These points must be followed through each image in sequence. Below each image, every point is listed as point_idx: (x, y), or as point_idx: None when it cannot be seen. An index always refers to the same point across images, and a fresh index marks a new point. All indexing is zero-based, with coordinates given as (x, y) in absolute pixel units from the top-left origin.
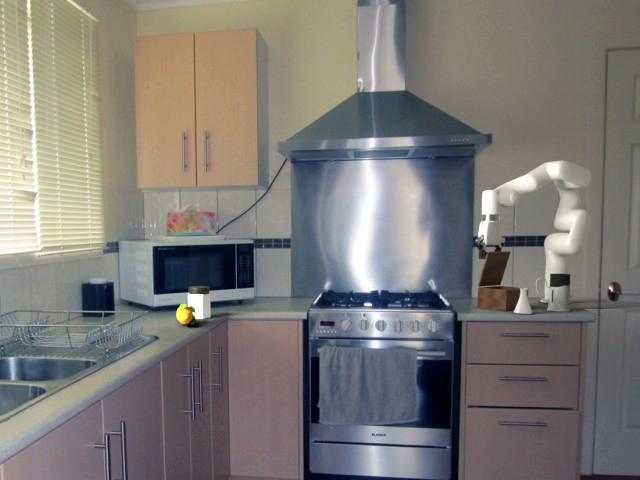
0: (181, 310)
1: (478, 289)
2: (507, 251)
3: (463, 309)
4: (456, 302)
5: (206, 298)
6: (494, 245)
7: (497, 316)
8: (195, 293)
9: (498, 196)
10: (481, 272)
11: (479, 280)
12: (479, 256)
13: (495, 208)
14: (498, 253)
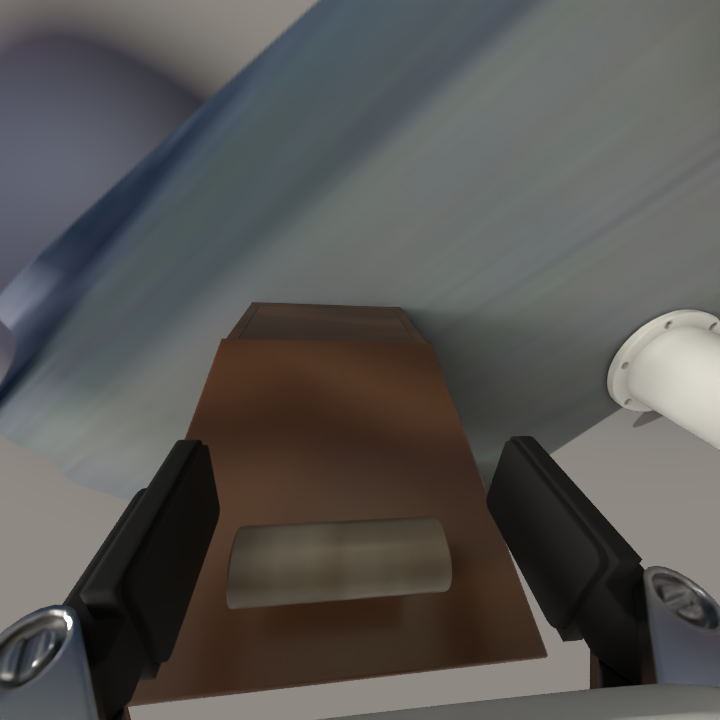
0: None
1: (229, 338)
2: (501, 662)
3: (140, 309)
4: (350, 24)
5: None
6: (650, 680)
7: (132, 493)
8: None
9: None
10: (191, 421)
11: (210, 370)
12: (141, 495)
13: None
14: (316, 658)
